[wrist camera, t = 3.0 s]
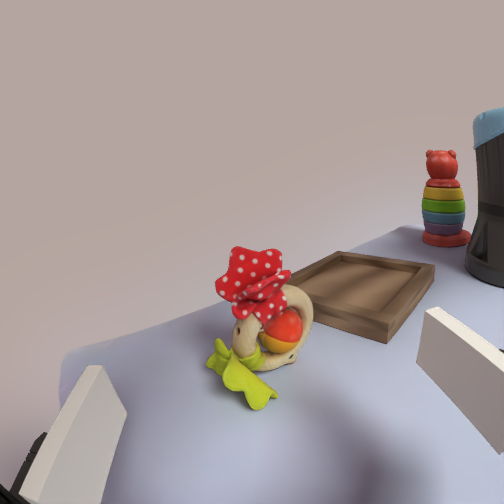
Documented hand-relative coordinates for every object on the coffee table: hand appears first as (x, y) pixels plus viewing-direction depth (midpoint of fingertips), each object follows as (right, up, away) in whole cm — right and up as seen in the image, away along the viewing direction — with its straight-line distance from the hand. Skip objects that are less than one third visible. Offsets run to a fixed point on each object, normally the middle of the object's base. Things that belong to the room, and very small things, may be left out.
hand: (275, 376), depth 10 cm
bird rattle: (+1, -6, +12) cm, 13 cm away
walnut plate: (+12, 0, +23) cm, 26 cm away
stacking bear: (+37, +7, +37) cm, 53 cm away
